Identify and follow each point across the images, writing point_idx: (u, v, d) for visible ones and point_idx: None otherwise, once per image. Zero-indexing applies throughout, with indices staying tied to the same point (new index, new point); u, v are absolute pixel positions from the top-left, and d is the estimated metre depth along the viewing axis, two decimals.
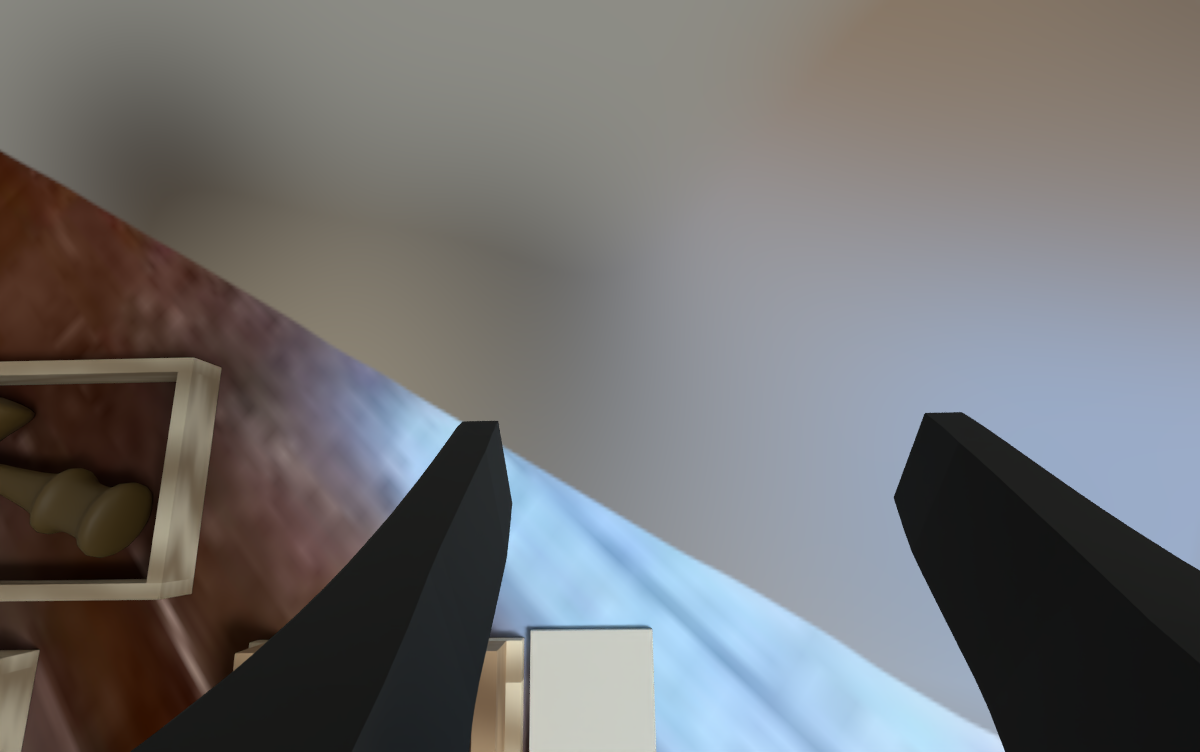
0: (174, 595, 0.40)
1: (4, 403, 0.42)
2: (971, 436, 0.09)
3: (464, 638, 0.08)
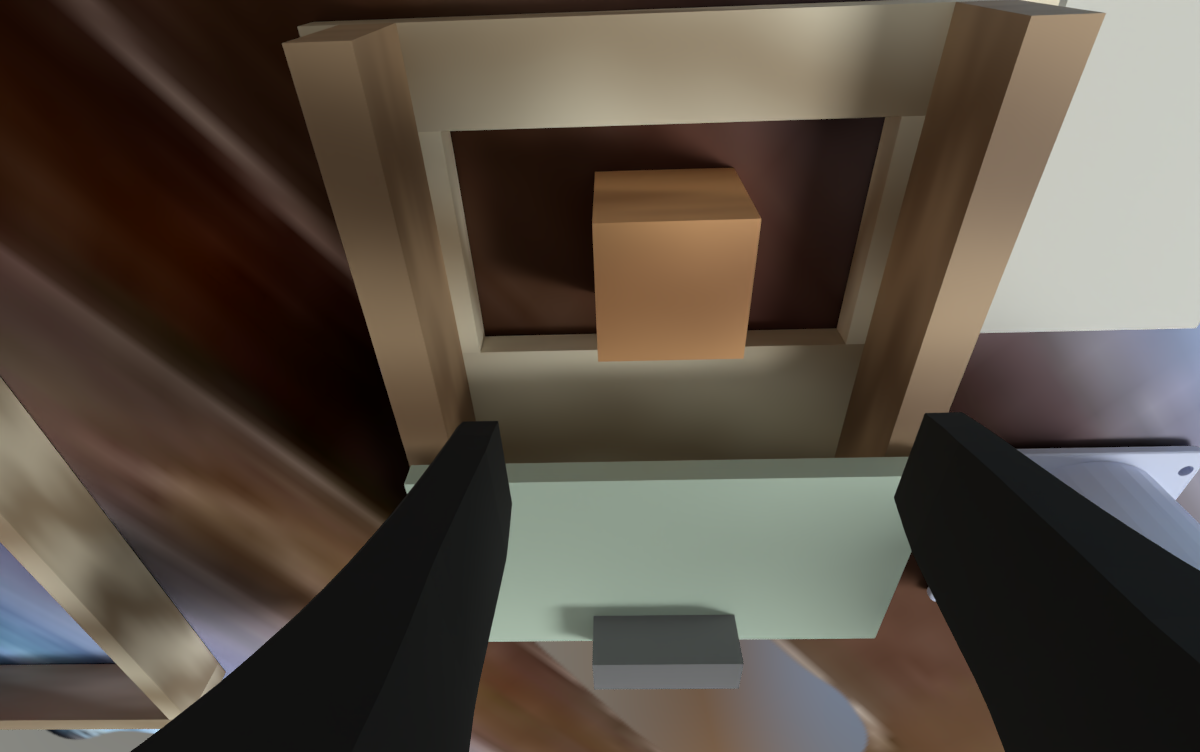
0: None
1: None
2: (971, 436, 0.09)
3: (463, 639, 0.08)
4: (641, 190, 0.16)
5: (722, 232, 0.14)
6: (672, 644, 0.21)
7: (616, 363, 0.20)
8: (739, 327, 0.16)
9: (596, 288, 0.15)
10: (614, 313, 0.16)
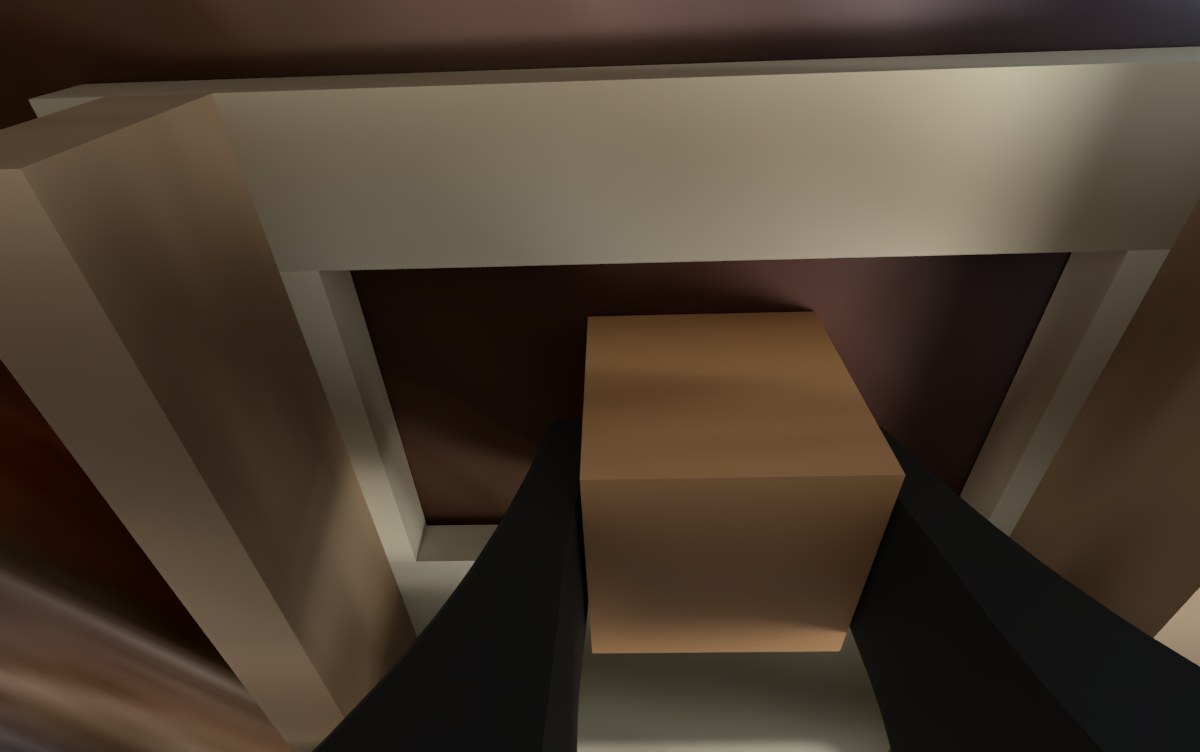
0: None
1: None
2: None
3: (575, 638, 0.08)
4: (667, 374, 0.09)
5: (827, 493, 0.08)
6: None
7: None
8: (839, 615, 0.09)
9: (589, 566, 0.09)
10: (620, 598, 0.09)
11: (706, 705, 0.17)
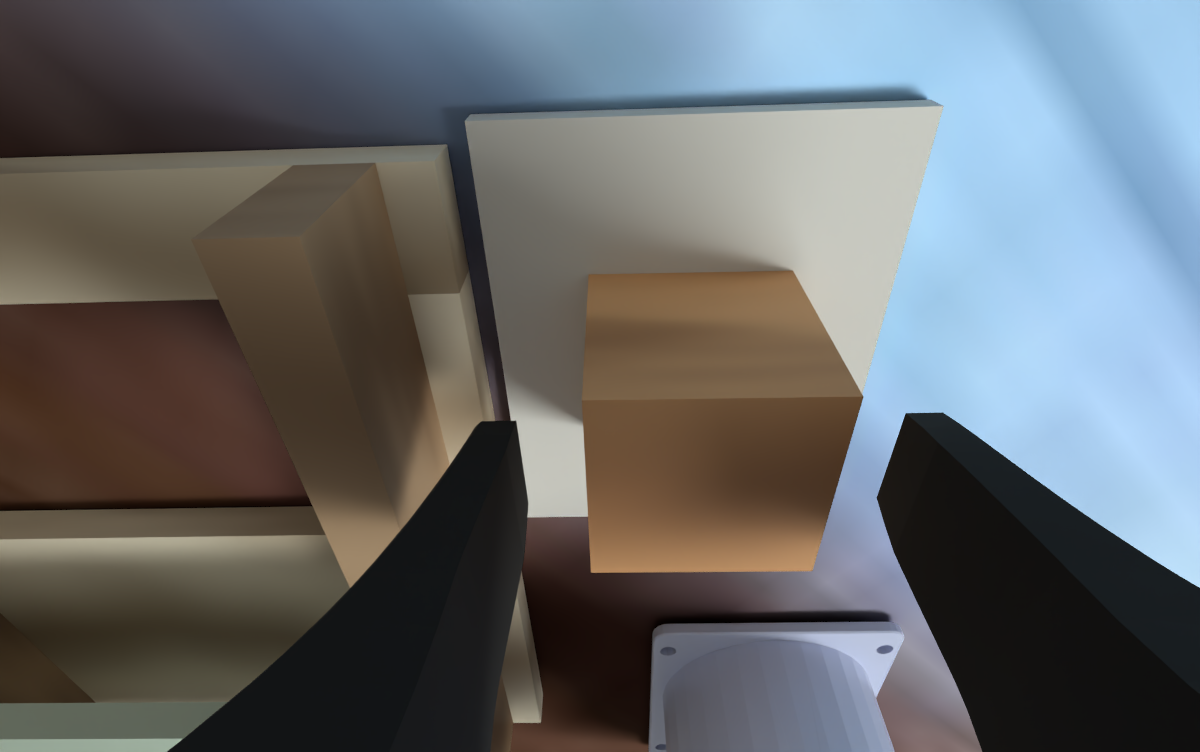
0: None
1: None
2: (950, 436, 0.09)
3: (486, 639, 0.08)
4: (660, 320, 0.10)
5: (795, 414, 0.09)
6: None
7: (121, 551, 0.16)
8: (810, 534, 0.10)
9: (588, 485, 0.10)
10: (616, 517, 0.10)
11: None
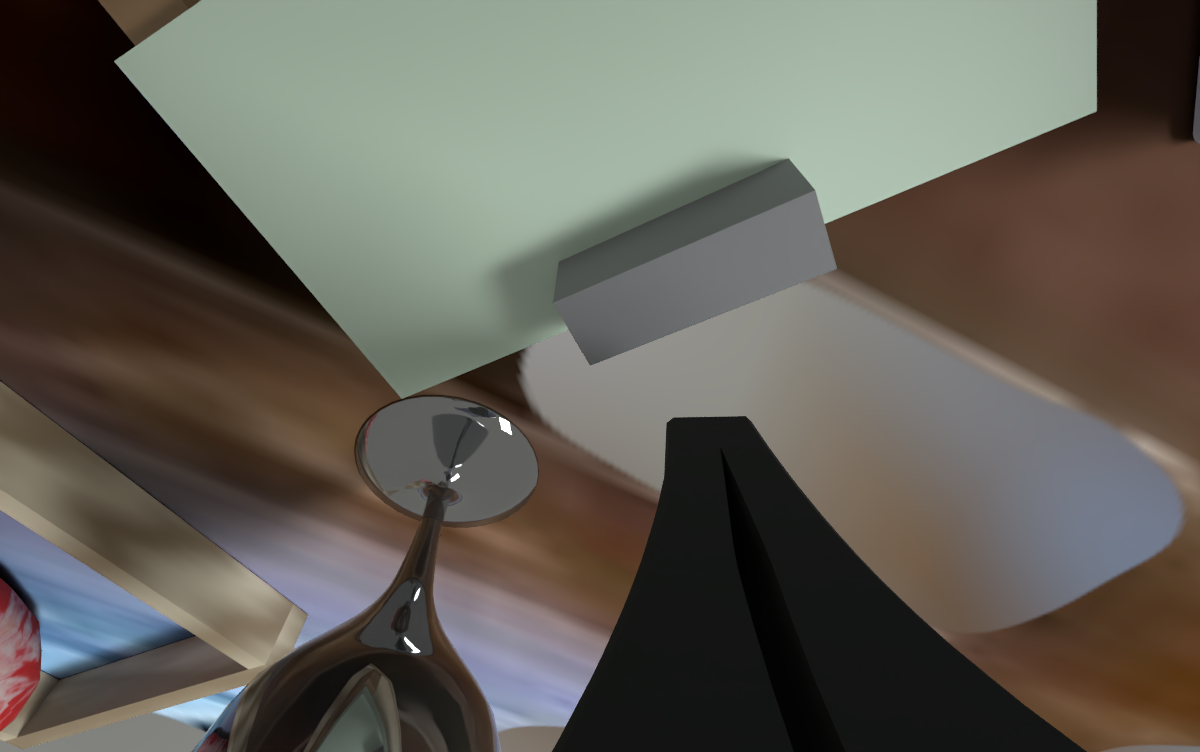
0: None
1: None
2: (735, 440, 0.09)
3: None
4: None
5: None
6: (683, 229, 0.11)
7: None
8: None
9: None
10: None
11: None
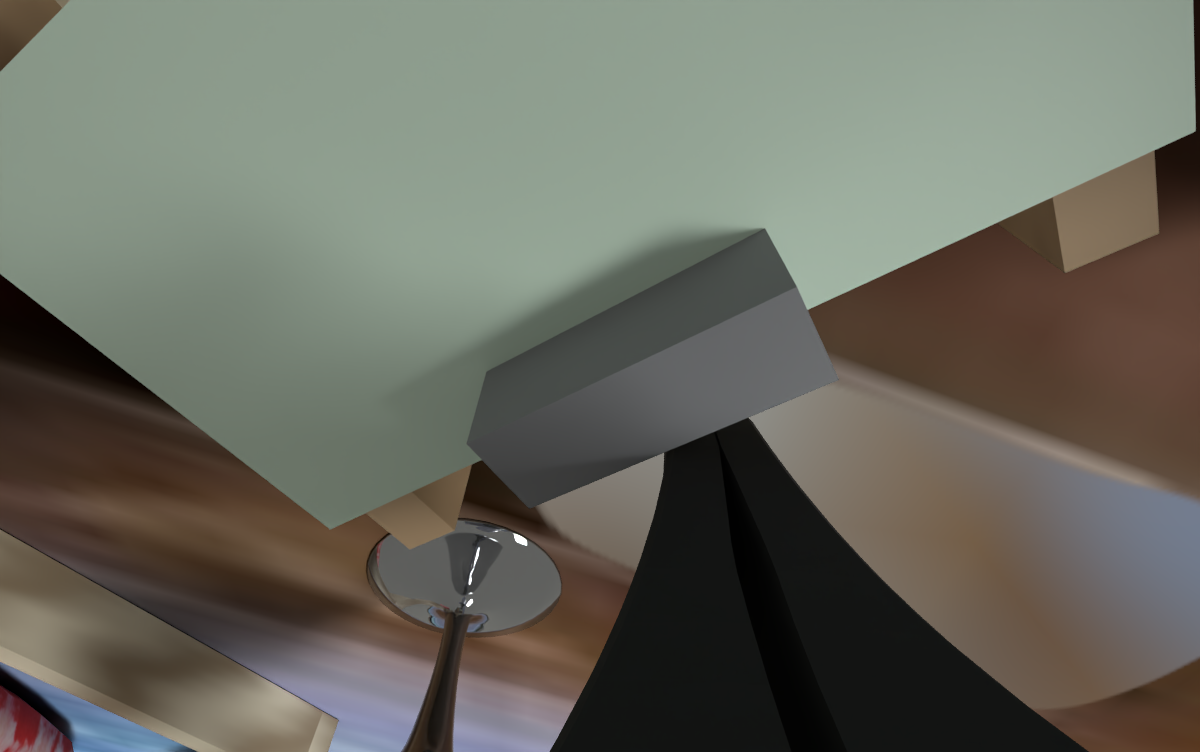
0: None
1: None
2: (736, 440, 0.09)
3: None
4: None
5: None
6: (628, 337, 0.08)
7: None
8: None
9: None
10: None
11: None
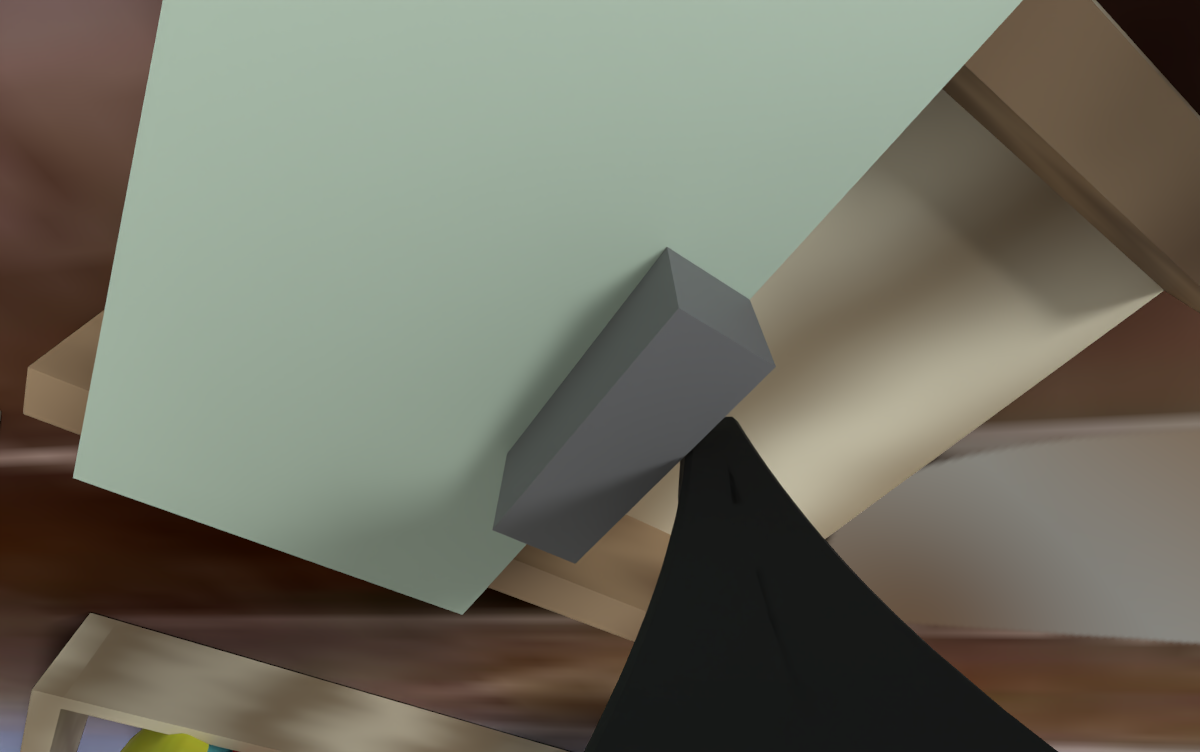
0: None
1: None
2: (721, 440, 0.09)
3: None
4: None
5: None
6: (581, 394, 0.09)
7: None
8: None
9: None
10: None
11: (852, 382, 0.16)
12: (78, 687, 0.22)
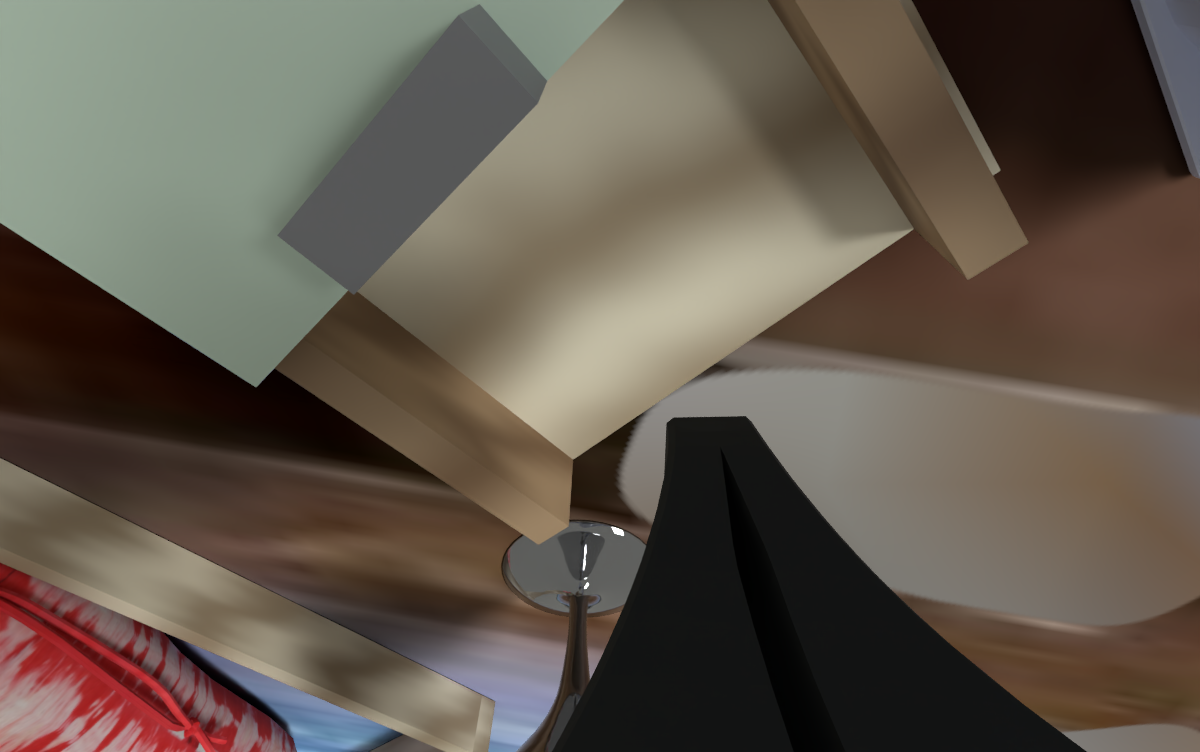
0: None
1: None
2: (735, 440, 0.09)
3: None
4: None
5: None
6: None
7: None
8: None
9: None
10: None
11: (662, 260, 0.17)
12: None
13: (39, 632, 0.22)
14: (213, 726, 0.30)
